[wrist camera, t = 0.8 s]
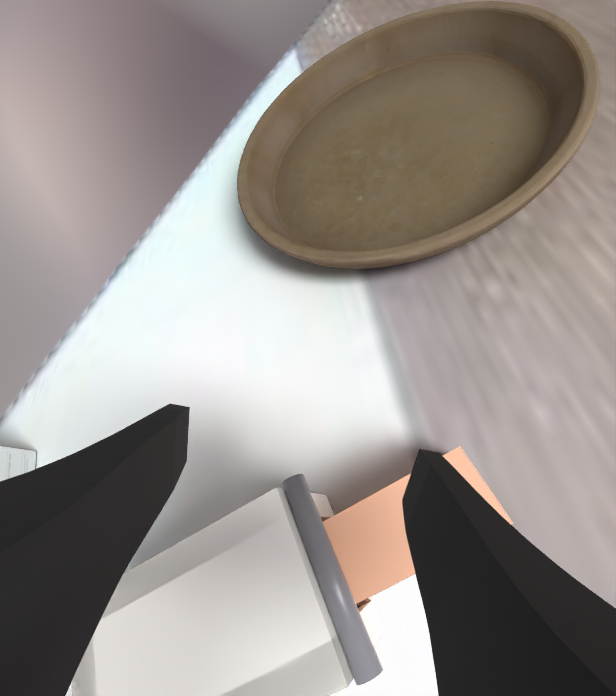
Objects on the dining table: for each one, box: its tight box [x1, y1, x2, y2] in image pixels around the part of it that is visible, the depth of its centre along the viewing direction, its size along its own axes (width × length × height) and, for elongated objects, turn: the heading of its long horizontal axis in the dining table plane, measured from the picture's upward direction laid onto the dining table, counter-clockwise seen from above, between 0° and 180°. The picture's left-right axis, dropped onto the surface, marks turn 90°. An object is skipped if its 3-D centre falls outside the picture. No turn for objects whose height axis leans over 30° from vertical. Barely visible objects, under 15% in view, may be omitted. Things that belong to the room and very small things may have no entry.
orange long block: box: [323, 446, 513, 604], centre depth 21 cm, size 4×16×5 cm, turn 115°
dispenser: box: [72, 474, 384, 696], centre depth 20 cm, size 8×15×8 cm, turn 115°
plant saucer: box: [237, 1, 600, 269], centre depth 34 cm, size 31×31×5 cm
